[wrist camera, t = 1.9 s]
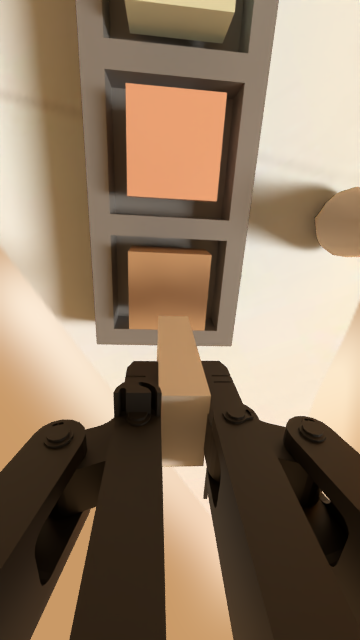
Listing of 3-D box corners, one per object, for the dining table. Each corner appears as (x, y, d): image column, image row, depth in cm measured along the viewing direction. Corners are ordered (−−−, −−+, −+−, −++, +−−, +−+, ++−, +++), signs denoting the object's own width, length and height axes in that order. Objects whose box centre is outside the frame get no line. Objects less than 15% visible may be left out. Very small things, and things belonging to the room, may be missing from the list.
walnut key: (131, 245, 23) (127, 251, 20) (204, 248, 23) (211, 255, 20) (132, 314, 25) (129, 329, 22) (199, 316, 26) (204, 330, 23)
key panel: (86, -110, 18) (62, -218, 13) (267, -82, 19) (302, -174, 14) (106, 322, 29) (97, 344, 25) (220, 324, 30) (231, 346, 26)
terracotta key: (130, 101, 19) (125, 82, 16) (216, 109, 20) (227, 92, 17) (131, 197, 21) (127, 195, 18) (208, 201, 22) (216, 201, 19)
